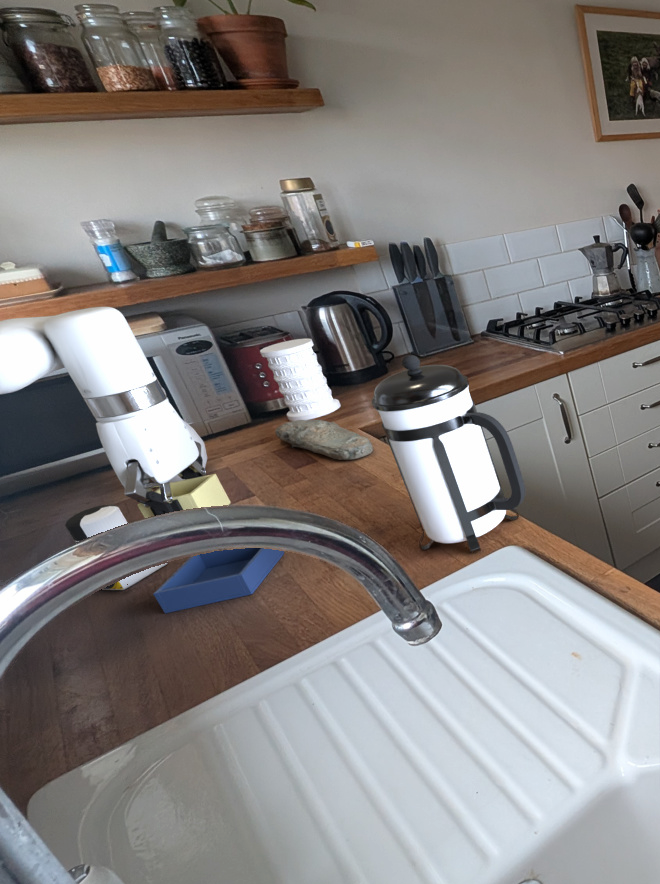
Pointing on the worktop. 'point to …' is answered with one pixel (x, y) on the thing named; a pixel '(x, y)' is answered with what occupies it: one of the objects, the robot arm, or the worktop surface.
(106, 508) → the medicine bottle
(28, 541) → the worktop surface
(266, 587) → the worktop surface
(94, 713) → the worktop surface
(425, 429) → the coffee press
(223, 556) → the blue bin
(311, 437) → the elongated rock
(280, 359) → the decorative container
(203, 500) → the cream bin
